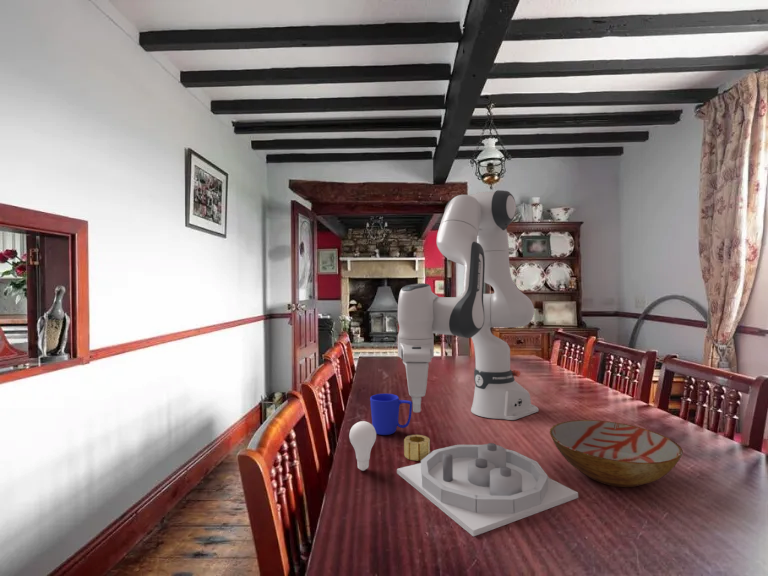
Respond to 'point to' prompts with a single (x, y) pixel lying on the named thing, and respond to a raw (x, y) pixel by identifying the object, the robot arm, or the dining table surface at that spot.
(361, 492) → the dining table surface
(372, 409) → the mug
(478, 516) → the carrier board
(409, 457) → the wooden octagonal ring
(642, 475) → the bowl
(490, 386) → the robot arm
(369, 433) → the lightbulb
